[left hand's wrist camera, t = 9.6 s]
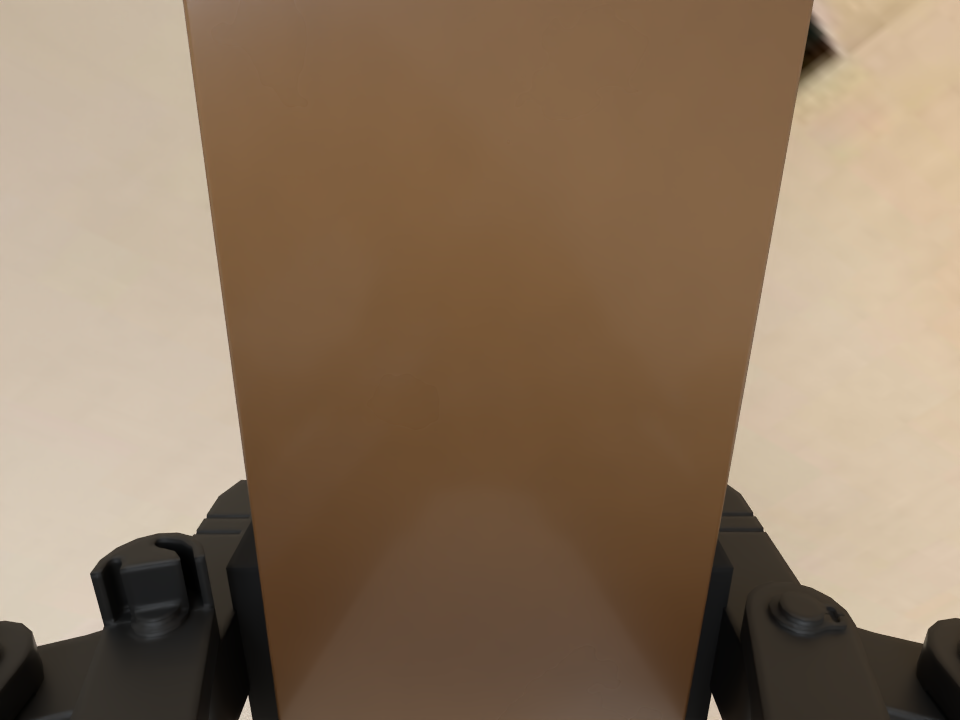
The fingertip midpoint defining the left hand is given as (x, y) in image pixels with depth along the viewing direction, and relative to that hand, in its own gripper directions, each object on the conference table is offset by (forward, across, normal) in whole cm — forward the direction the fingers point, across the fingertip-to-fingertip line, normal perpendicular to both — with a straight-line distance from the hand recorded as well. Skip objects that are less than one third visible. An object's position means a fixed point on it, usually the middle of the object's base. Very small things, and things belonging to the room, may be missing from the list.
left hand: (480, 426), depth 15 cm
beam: (+1, 0, -29) cm, 29 cm away
